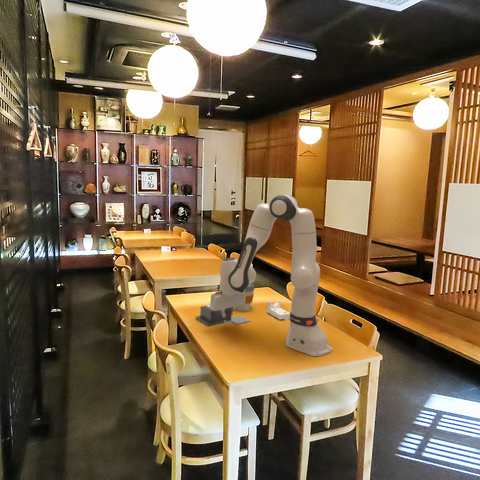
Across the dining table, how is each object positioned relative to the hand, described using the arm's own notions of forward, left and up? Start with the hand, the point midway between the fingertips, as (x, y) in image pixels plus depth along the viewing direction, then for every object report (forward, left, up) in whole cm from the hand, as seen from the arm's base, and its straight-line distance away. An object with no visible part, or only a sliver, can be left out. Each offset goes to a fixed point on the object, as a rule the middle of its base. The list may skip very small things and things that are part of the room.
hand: (227, 316), depth 195 cm
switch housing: (+13, 0, -6) cm, 14 cm away
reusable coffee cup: (+20, -26, -7) cm, 33 cm away
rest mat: (+6, -12, -6) cm, 14 cm away
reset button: (+13, 0, -3) cm, 13 cm away
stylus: (0, 0, -4) cm, 4 cm away
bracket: (0, -36, -7) cm, 36 cm away
